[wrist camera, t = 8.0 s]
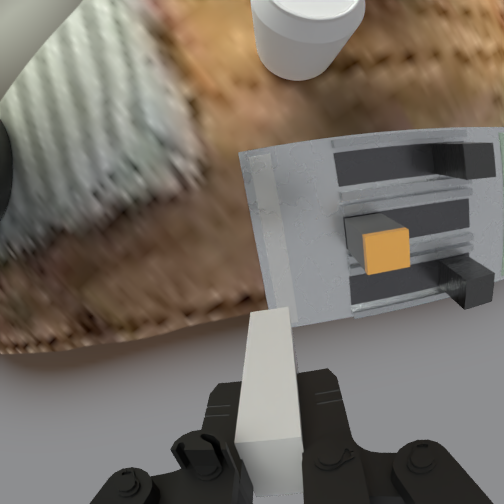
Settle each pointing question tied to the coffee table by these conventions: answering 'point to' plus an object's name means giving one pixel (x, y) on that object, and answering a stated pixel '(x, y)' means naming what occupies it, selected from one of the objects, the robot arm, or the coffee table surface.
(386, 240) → the breaker
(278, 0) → the beverage can
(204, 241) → the coffee table surface
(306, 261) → the breaker panel
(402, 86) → the coffee table surface
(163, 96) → the coffee table surface
